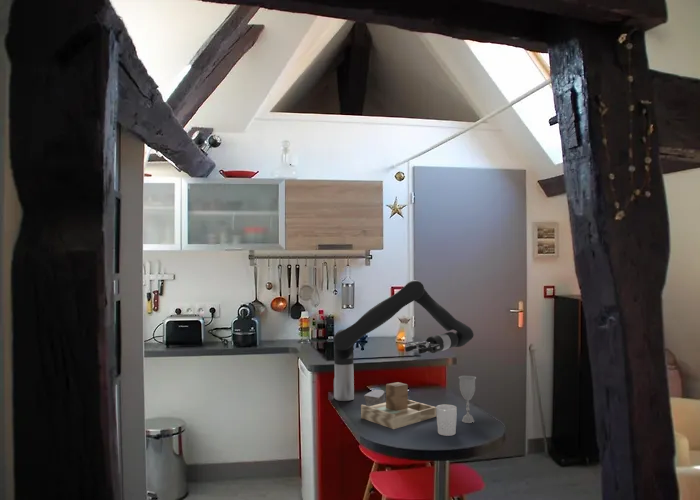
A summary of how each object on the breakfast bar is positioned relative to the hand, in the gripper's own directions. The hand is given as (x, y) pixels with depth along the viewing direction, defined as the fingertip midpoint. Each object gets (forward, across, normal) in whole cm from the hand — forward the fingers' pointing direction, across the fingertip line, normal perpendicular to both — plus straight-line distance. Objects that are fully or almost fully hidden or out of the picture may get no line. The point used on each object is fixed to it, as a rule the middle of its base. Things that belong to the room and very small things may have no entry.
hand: (412, 350), depth 232 cm
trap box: (+12, 0, +26) cm, 29 cm away
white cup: (+10, +26, +28) cm, 40 cm away
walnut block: (+12, 0, +22) cm, 25 cm away
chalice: (-7, +22, +29) cm, 37 cm away
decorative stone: (+10, -18, +26) cm, 34 cm away
